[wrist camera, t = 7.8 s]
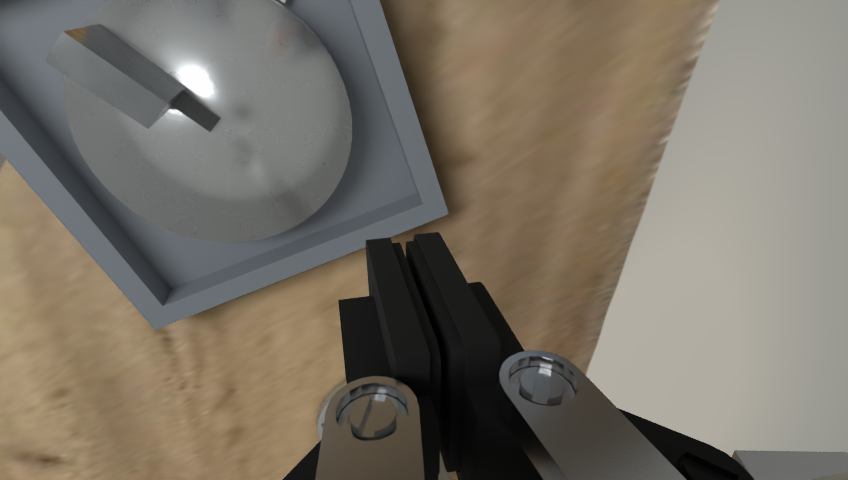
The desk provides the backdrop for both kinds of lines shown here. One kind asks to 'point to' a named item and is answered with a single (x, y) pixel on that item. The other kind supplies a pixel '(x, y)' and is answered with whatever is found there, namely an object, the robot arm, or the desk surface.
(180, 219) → the dial
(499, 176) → the desk surface
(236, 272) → the square tray
